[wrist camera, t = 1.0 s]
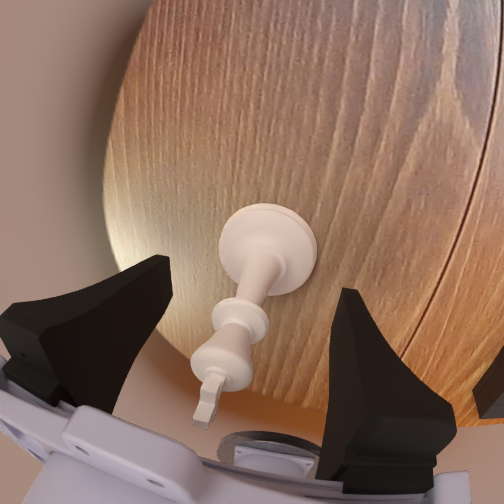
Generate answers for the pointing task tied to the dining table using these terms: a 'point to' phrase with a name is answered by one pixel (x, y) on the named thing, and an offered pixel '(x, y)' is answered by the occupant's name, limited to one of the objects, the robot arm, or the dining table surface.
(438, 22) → the dining table surface
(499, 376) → the tray
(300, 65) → the dining table surface
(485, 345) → the dining table surface
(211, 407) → the chess piece
